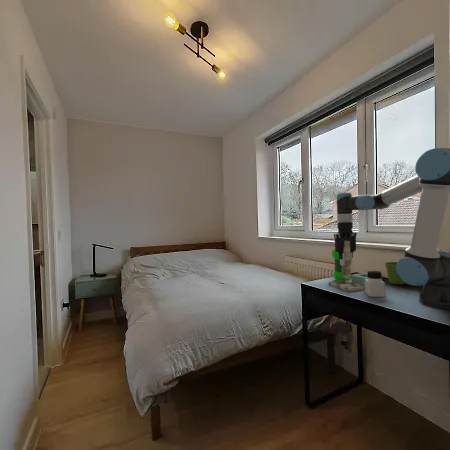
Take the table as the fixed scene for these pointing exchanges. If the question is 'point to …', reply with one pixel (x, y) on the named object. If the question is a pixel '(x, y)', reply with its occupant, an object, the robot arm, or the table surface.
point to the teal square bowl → (359, 278)
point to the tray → (347, 285)
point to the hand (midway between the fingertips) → (346, 264)
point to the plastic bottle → (338, 267)
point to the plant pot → (393, 273)
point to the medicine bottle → (374, 284)
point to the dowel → (346, 261)
